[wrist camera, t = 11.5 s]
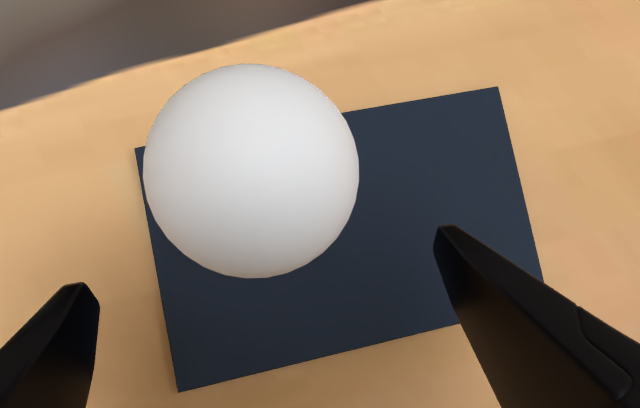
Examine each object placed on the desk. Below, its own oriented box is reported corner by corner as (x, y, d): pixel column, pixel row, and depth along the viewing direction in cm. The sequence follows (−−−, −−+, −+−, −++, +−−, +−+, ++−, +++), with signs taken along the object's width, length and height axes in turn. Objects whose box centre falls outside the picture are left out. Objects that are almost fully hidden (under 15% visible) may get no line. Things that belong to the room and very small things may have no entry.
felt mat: (179, 390, 18) (178, 393, 18) (136, 149, 19) (134, 148, 19) (544, 300, 21) (548, 301, 20) (495, 88, 21) (498, 86, 21)
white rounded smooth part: (273, 115, 20) (266, -36, 9) (350, 205, 20) (438, 170, 9) (177, 190, 19) (35, 129, 8) (257, 284, 19) (226, 355, 8)
